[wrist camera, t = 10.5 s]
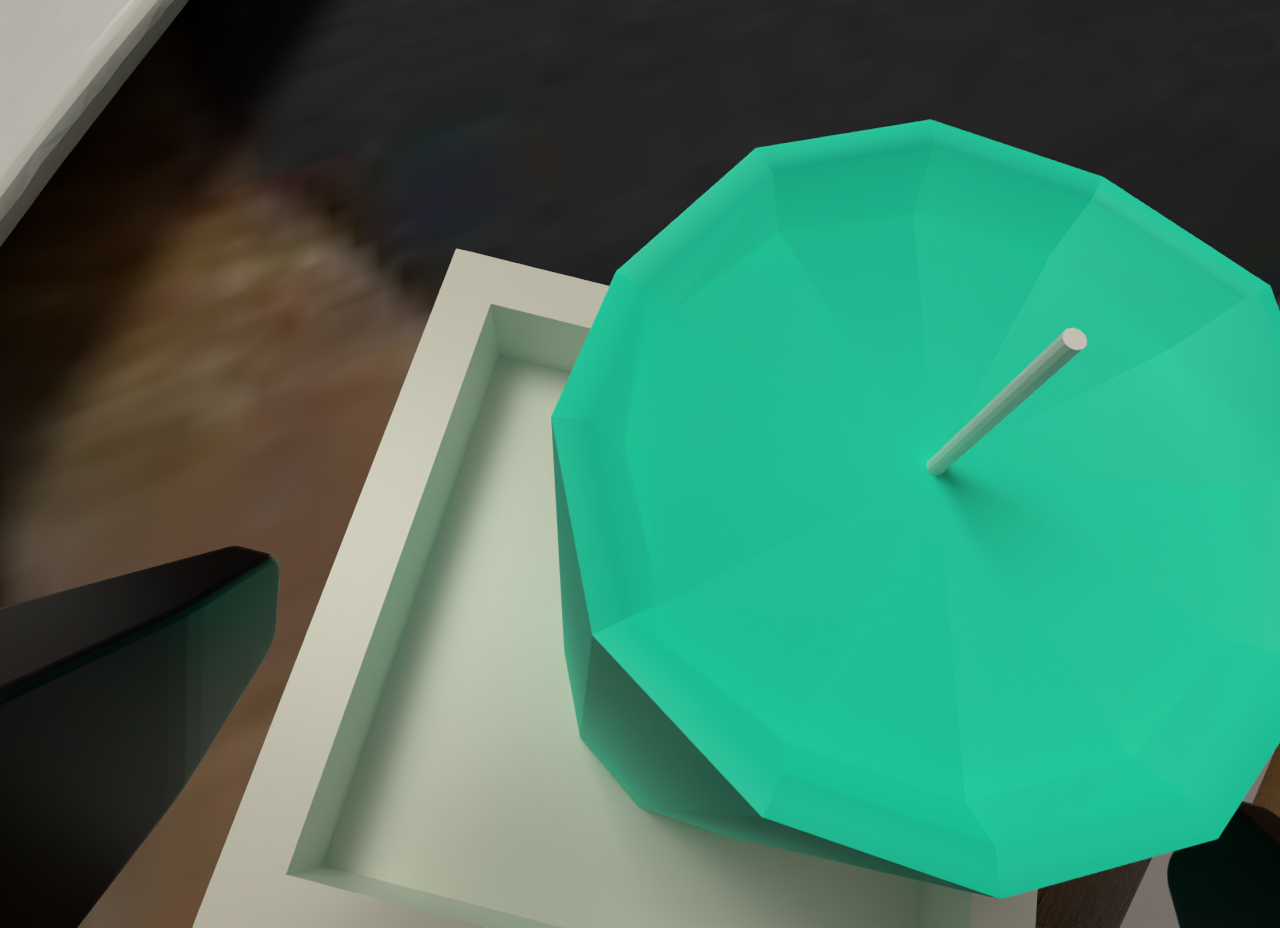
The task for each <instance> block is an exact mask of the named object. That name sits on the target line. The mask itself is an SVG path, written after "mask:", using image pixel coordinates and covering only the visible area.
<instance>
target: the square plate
mask: <svg viewBox="0 0 1280 928" xmlns="http://www.w3.org/2000/svg"><path fill="white" fill-rule="evenodd" d="M188 1H189V0H0V247H1V246H2V244H3V243H4V241H5V240H6V239H7V237H8V236H9V235H10V233H11V232H12V231H13V229H14V228H15V227H16V225H17V224H18V222H19V221H20V220H21V218H22V217H23V216H24V214H25V213H26V212H27V210H28V209H29V207H30V206H31V205H32V203H33V202H34V201H35V199H36V198H37V197H38V195H39V194H40V192H41V191H42V190H43V188H44V187H45V186H46V184H47V183H48V182H49V180H50V179H51V178H52V176H53V175H54V173H55V172H56V171H57V169H58V168H59V167H60V165H61V164H62V163H63V161H64V160H65V159H66V157H67V156H68V155H69V154H70V152H71V151H72V150H73V148H74V147H75V146H76V144H77V143H78V142H79V141H80V139H81V138H82V137H83V135H84V134H85V133H86V132H87V130H88V129H89V128H90V126H91V125H92V124H93V122H94V121H95V120H96V119H97V117H98V116H99V115H100V113H101V112H102V111H103V110H104V108H105V107H106V106H107V104H108V103H109V102H110V100H111V99H112V98H113V97H114V95H115V94H116V93H117V91H118V90H119V89H120V88H121V86H122V85H123V84H124V82H125V81H126V80H127V79H128V77H129V76H130V75H131V74H132V72H133V71H134V70H135V68H136V67H137V66H138V65H139V63H140V62H141V61H142V60H143V58H144V57H145V56H146V55H147V53H148V52H149V51H150V49H151V48H152V47H153V46H154V44H155V43H156V42H157V41H158V39H159V38H160V37H161V35H162V34H163V33H164V32H165V30H166V29H167V28H168V27H169V25H170V24H171V23H172V22H173V20H174V19H175V18H176V16H177V15H178V14H179V13H180V11H181V10H182V9H183V7H184V6H185V5H186V3H187V2H188Z"/></svg>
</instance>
